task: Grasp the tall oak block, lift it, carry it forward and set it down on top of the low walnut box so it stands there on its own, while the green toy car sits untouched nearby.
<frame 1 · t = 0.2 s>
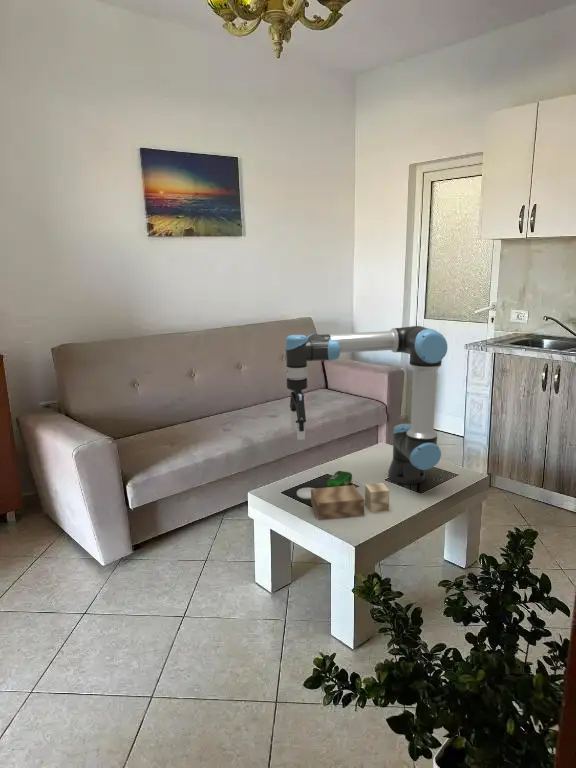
hand: (297, 433, 197), 28 cm above the table, fingers open, 13 cm apart
oak block: (376, 507, 198), on the table
walnut box: (337, 509, 197), on the table
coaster: (308, 494, 210), on the table
green toy car: (339, 487, 216), on the table
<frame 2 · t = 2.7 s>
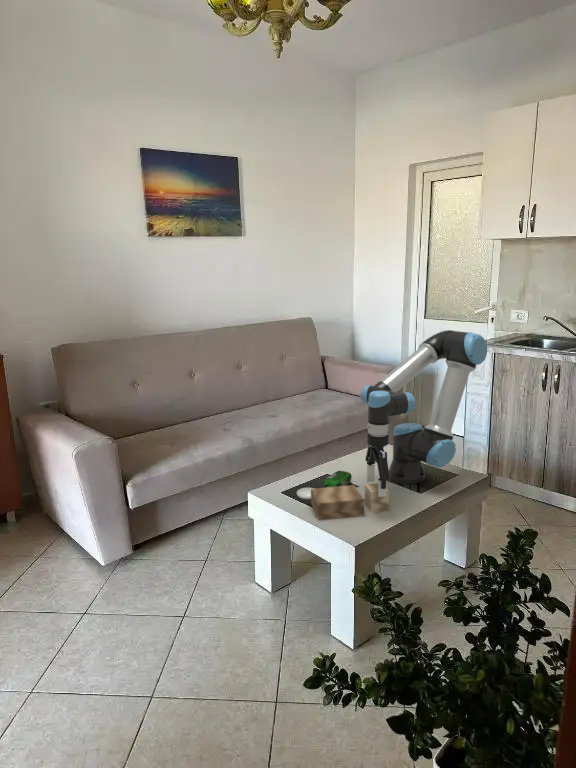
hand: (376, 488, 196), 8 cm above the table, fingers open, 13 cm apart
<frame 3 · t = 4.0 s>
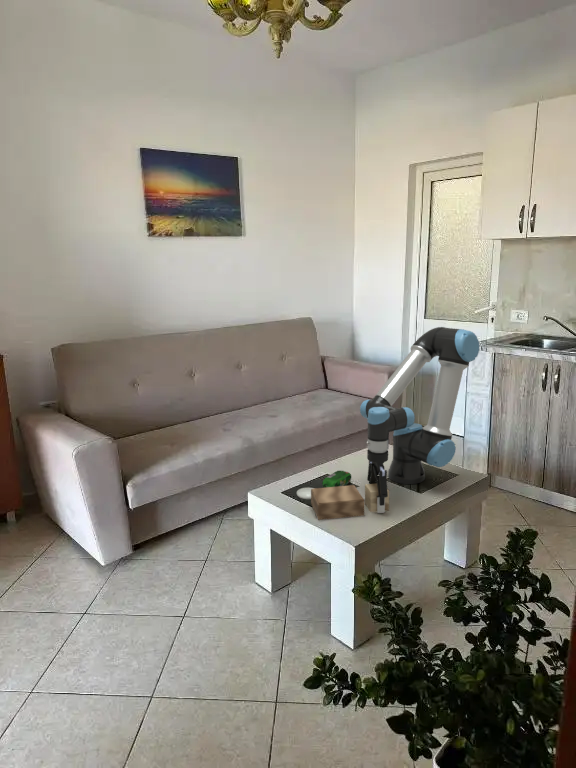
hand: (376, 506, 198), 0 cm above the table, fingers open, 9 cm apart
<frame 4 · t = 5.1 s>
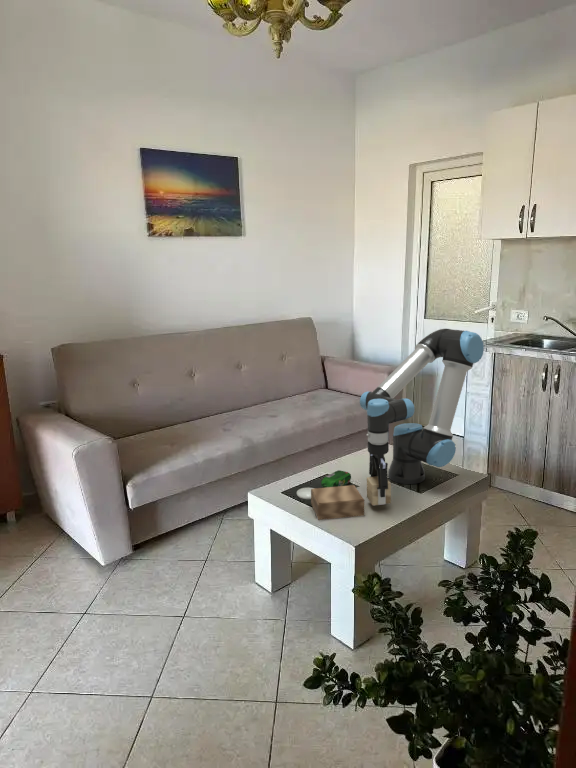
hand: (378, 499, 197), 3 cm above the table, fingers closed on oak block, 7 cm apart
oak block: (378, 500, 198), point 3 cm above the table, touching gripper
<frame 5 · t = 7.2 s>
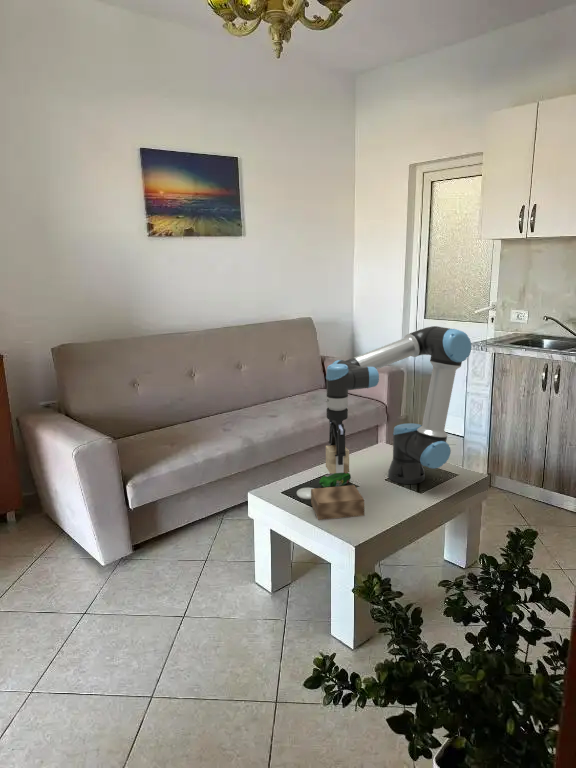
hand: (337, 468, 193), 16 cm above the table, fingers closed on oak block, 7 cm apart
oak block: (337, 469, 193), point 16 cm above the table, touching gripper
when the fingers open (8 cm above the table, at t = 9.5 s): oak block stays where it is, resting on walnut box.
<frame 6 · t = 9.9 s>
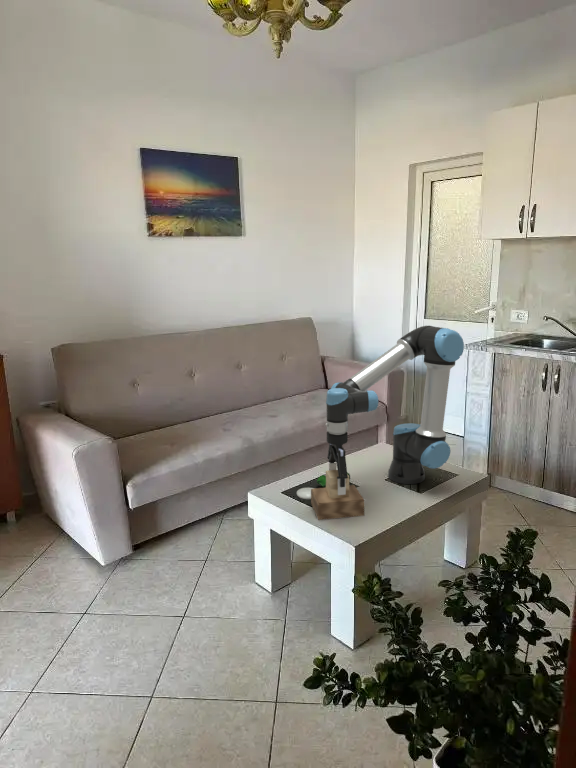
hand: (337, 486, 194), 9 cm above the table, fingers open, 13 cm apart
oak block: (337, 493, 195), point 6 cm above the table, touching walnut box
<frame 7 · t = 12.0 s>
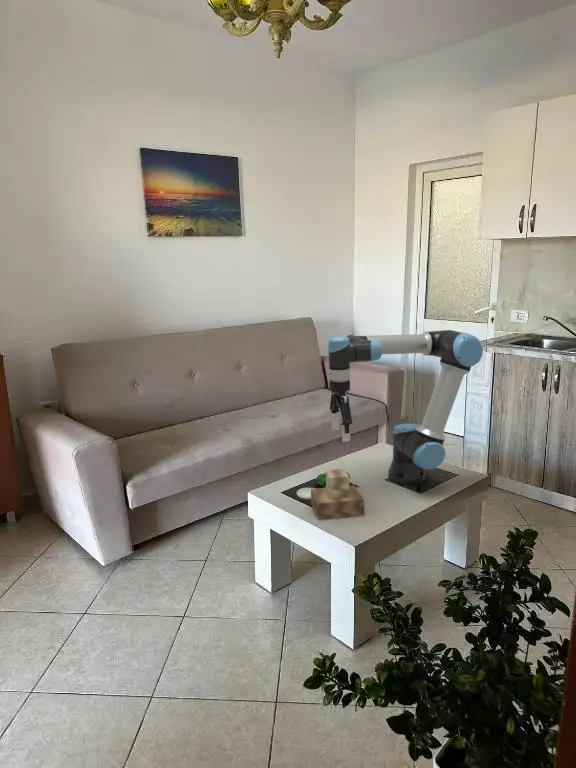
hand: (340, 435, 197), 27 cm above the table, fingers open, 13 cm apart
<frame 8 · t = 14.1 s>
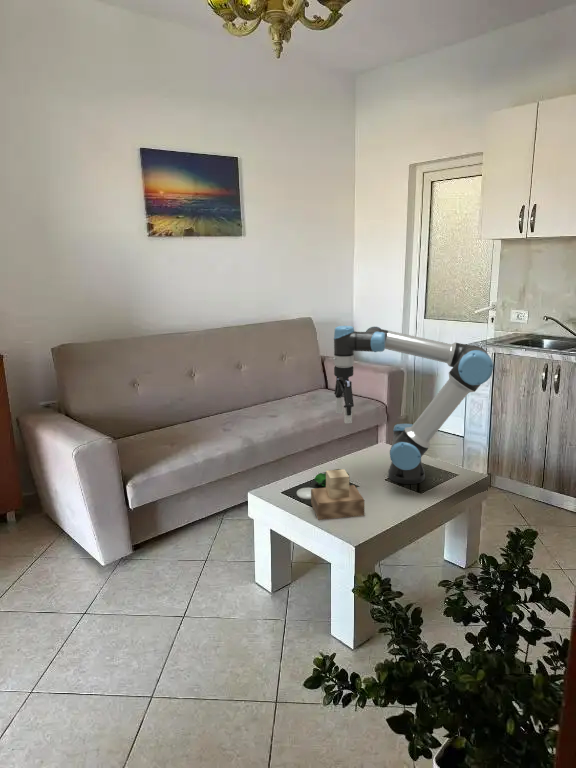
hand: (343, 417, 211), 29 cm above the table, fingers open, 13 cm apart
at the end: oak block inside the target area on the walnut box (0.1 cm from its centre), point 6.3 cm above the walnut box's base; oak block tilted 0°; the gripper is holding nothing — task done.
